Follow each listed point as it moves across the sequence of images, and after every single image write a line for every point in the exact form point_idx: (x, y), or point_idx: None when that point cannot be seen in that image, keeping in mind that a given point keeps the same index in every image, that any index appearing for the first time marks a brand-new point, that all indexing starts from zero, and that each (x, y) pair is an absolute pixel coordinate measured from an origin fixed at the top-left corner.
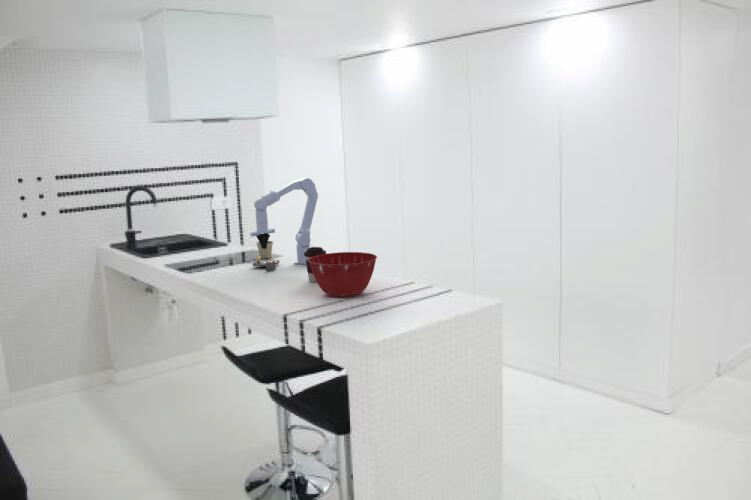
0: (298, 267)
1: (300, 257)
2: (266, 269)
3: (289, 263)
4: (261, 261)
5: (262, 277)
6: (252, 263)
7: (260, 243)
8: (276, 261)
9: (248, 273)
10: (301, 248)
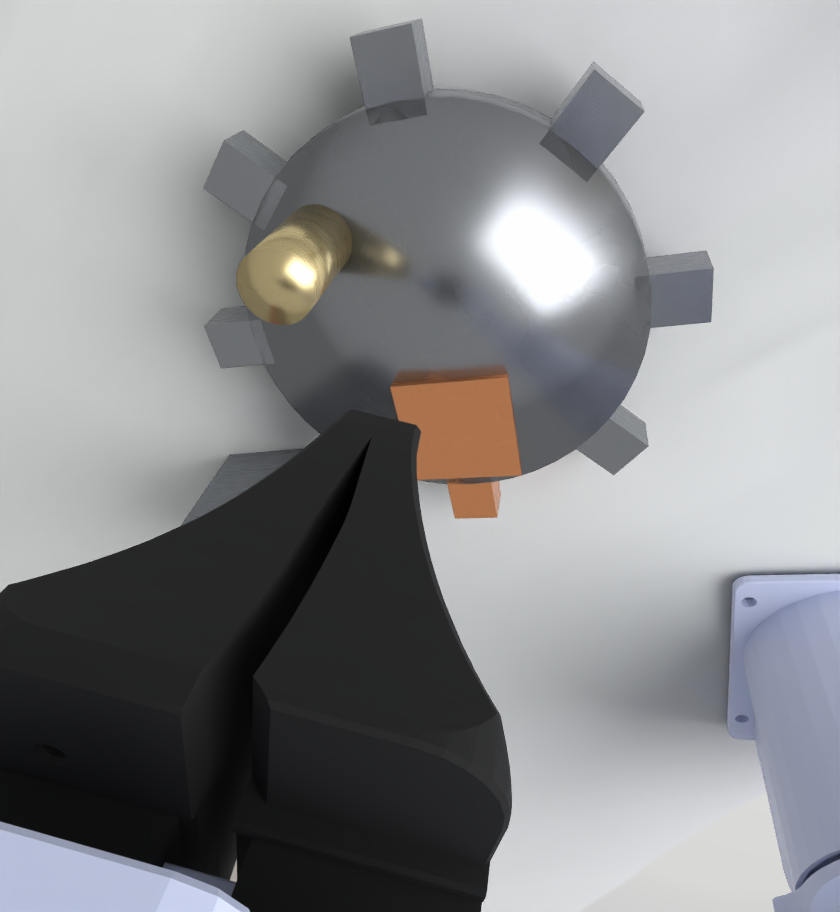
0: (536, 674)
1: (759, 715)
2: (224, 470)
3: (769, 498)
4: (450, 204)
5: (18, 567)
6: (222, 149)
7: (271, 486)
8: (531, 471)
9: (3, 326)
10: (791, 871)
